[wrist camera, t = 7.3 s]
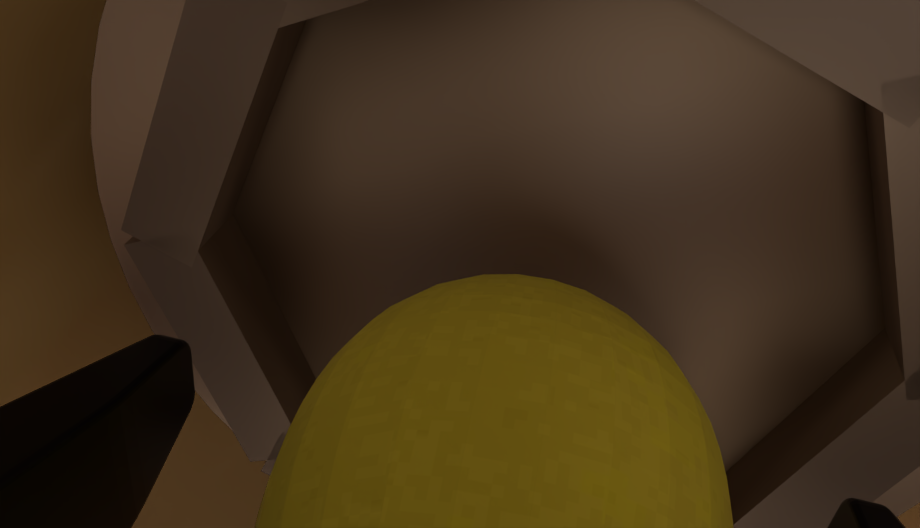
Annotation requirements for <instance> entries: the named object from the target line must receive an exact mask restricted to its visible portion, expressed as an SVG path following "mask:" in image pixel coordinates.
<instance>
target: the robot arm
mask: <svg viewBox="0 0 920 528" xmlns="http://www.w3.org/2000/svg"><path fill="white" fill-rule="evenodd" d="M194 395H195V387H194V376H193V364H192V353H191V348H190V346H189V344H188V343H187V342H186V341H184V340H182V339H178V338H173V337H169V336H165V335H159V334H156V335H152V336H149V337H147V338H145V339H143V340H141V341H138V342H136V343H134V344H132V345H130V346H128V347H126V348H124V349H122V350H119V351H117V352H115V353H113V354H111V355H109V356H107V357H105V358H102V359H100V360H98V361H96V362H94V363H92V364H90V365H88V366H86V367H83V368H81V369H79V370H77V371H75V372H73V373H71V374H69V375H66V376H64V377H62V378H60V379H58V380H56V381H54V382H52V383H50V384H47V385H45V386H43V387H41V388H39V389H37V390H35V391H33V392H30V393H28V394H26V395H24V396H22V397H20V398H18V399H16V400H13V401H11V402H9V403H7V404H5V405H3V406H1V407H0V528H131V527H132V525H133V524H134V522H135V520H136V519H137V517H138V515H139V513H140V511H141V509H142V508H143V506H144V504H145V502H146V500H147V498H148V496H149V494H150V492H151V490H152V488H153V486H154V484H155V482H156V480H157V478H158V475H159V473H160V471H161V469H162V467H163V465H164V463H165V461H166V459H167V457H168V455H169V453H170V451H171V449H172V447H173V445H174V443H175V441H176V439H177V437H178V435H179V433H180V431H181V429H182V427H183V425H184V423H185V420H186V418H187V416H188V414H189V412H190V410H191V408H192V405H193V401H194ZM828 528H905V527H904V525H903V524H902V523H901V522H900V521H899V519H898V518H897V517H896V516H895V515H894V513H893V512H892V511H891V510H890V509H888V508H887V507H886V506H884V505H881V504H878V503H873V502H869V501H865V500H861V499H856V498H848V499H846V500H844V501H843V502H842V503H841V505H840V506H839V508H838V510H837V511H836V513H835V515H834V517H833V519H832V520H831V522H830V524H829V526H828Z"/></svg>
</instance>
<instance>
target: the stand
mask: <svg viewBox="0 0 920 528" xmlns="http://www.w3.org/2000/svg"><path fill="white" fill-rule="evenodd" d="M91 141H92V148H93V156H94V164H95V171H96V179H97V187H98V192H99V196H100V200H101V204H102V208H103V211H104V215H105V219H106V223H107V227H108V231H109V234H110V238H111V242H112V244H113V247H114V249H115V252H116V254H117V257H118V259H119V262H120V265H121V267H122V270H123V272H124V275H125V277H126V280H127V282H128V285H129V287H130V289H131V291H132V293H133V295H134V297H135V299H136V301H137V303H138V305H139V306H140V308H141V310H142V312H143V314H144V316H145V318H146V320H147V322H148V323H149V325H150V327H151V329H152V331H153V333H154V334H155V335H156V334H159V335H165V336H169V337H173V338H178V339H182V340H184V341H186V342H187V343H188V344H189V346H190V348H191V353H192V364H193V376H194V387H195V391H196V392H197V393H198V394H199V396H200V397H201V398H202V399H203V400H204V402H205V403H206V404H207V405H208V406H209V408H210V409H211V410H212V411H213V412H214V413H215V414H216V415H217V416H218V417H219V418H220V419H221V420H222V421H223V422H224V423H225V424H226V425H227V426H228V427H229V428H230V429H231V430H232V431H233V433H234V434H235V436H236V438H237V439H238V441H239V443H240V445H241V446H242V448H243V450H244V451H245V453H246V455H247V457H248V458H249V460H250V462H252V461H263V460H266V463H265V465H264V466H263V468H262V470H261V471H262V472H264V473H266V474H268V475H271V472H272V469H273V467H274V464H275V461H276V459H277V456H278V454H279V451H280V449H281V446H282V444H283V441H284V439H285V436H286V434H287V431H288V429H289V427H290V425H291V423H292V421H293V419H294V417H295V415H296V413H297V411H298V409H299V407H300V405H301V403H302V401H303V400H304V398H305V397H306V395H307V393H308V392H309V390H310V388H311V387H312V385H313V384H314V382H315V380H316V379H317V377H318V376H319V375H320V373H321V372H322V371H323V370H324V368H325V367H326V366H327V364H328V363H329V362H330V360H331V359H332V358H333V357H334V356H335V355H336V354H337V353H338V352H339V351H340V350H341V349H342V348H343V347H344V346H345V345H346V344H347V343H348V342H349V341H350V340H351V339H352V338H353V337H354V336H355V335H356V334H357V333H358V332H359V331H360V330H362V329H363V328H364V327H365V326H366V325H367V324H368V323H369V322H370V321H371V320H373V319H374V318H375V317H377V316H378V315H379V314H381V313H382V312H383V311H385V310H386V309H388V308H389V307H390V306H392V305H394V304H396V303H398V302H400V301H402V300H405V299H407V298H409V297H411V296H413V295H415V294H417V293H419V292H422V291H424V290H426V289H428V288H430V287H432V286H435V285H437V284H440V283H445V282H449V281H454V280H459V279H464V278H468V277H473V276H478V275H483V274H520V275H527V276H533V277H539V278H546V279H552V280H555V281H558V282H561V283H564V284H568V285H571V286H574V287H577V288H580V289H583V290H586V291H587V292H589V293H591V294H593V295H595V296H597V297H598V298H600V299H602V300H604V301H606V302H607V303H609V304H611V305H613V306H615V307H616V308H618V309H619V310H621V311H623V312H624V313H626V314H628V315H629V316H630V317H631V318H632V319H633V320H634V321H636V322H637V323H638V324H639V325H640V326H641V327H642V328H644V329H645V330H646V331H647V332H648V333H649V334H650V335H652V336H653V337H654V338H655V339H656V340H657V341H658V342H659V343H660V344H661V345H662V346H663V347H664V348H665V349H666V350H667V351H668V352H669V354H670V355H671V357H672V358H673V359H674V361H675V362H676V364H677V365H678V367H679V368H680V369H681V371H682V372H683V374H684V376H685V377H686V379H687V380H688V382H689V383H690V385H691V387H692V388H693V390H694V391H695V393H696V395H697V396H698V398H699V400H700V402H701V404H702V406H703V408H704V410H705V412H706V414H707V416H708V418H709V420H710V422H711V424H712V427H713V430H714V433H715V436H716V439H717V442H718V444H719V447H720V451H721V455H722V459H723V464H724V468H725V472H726V476H727V482H728V489H729V496H730V503H731V510H732V518H733V526H734V528H828V526H829V524H830V522H831V520H832V519H833V517H834V515H835V513H836V511H837V510H838V508H839V506H840V505H841V503H842V502H843V501H844V500H846V499H848V498H856V499H861V500H865V501H869V502H873V503H878V504H881V505H884V506H886V507H887V508H888V509H890V510H891V511H892V512H893V513H894V515H895V516H896V517H897V516H899V515H901V514H902V513H904V512H905V511H907V510H908V509H910V508H912V507H913V506H915V505H916V504H918V503H919V502H920V0H107V1H106V4H105V8H104V11H103V14H102V18H101V21H100V24H99V31H98V38H97V45H96V52H95V59H94V66H93V73H92V80H91Z"/></svg>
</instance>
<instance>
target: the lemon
mask: <svg viewBox="0 0 920 528" xmlns="http://www.w3.org/2000/svg"><path fill="white" fill-rule="evenodd" d="M255 528H734V526H733V518H732V510H731V503H730V496H729V489H728V482H727V476H726V472H725V468H724V464H723V459H722V455H721V451H720V447H719V444H718V442H717V439H716V436H715V433H714V430H713V427H712V424H711V422H710V420H709V418H708V416H707V414H706V412H705V410H704V408H703V406H702V404H701V402H700V400H699V398H698V396H697V395H696V393H695V391H694V390H693V388H692V387H691V385H690V383H689V382H688V380H687V379H686V377H685V376H684V374H683V372H682V371H681V369H680V368H679V367H678V365H677V364H676V362H675V361H674V359H673V358H672V357H671V355H670V354H669V352H668V351H667V350H666V349H665V348H664V347H663V346H662V345H661V344H660V343H659V342H658V341H657V340H656V339H655V338H654V337H653V336H652V335H650V334H649V333H648V332H647V331H646V330H645V329H644V328H642V327H641V326H640V325H639V324H638V323H637V322H636V321H634V320H633V319H632V318H631V317H630V316H629V315H628V314H626V313H624V312H623V311H621V310H619V309H618V308H616V307H615V306H613V305H611V304H609V303H607V302H606V301H604V300H602V299H600V298H598V297H597V296H595V295H593V294H591V293H589V292H587V291H586V290H583V289H580V288H577V287H574V286H571V285H568V284H564V283H561V282H558V281H555V280H552V279H546V278H539V277H533V276H527V275H520V274H483V275H478V276H473V277H468V278H464V279H459V280H454V281H449V282H445V283H440V284H437V285H435V286H432V287H430V288H428V289H426V290H424V291H422V292H419V293H417V294H415V295H413V296H411V297H409V298H407V299H405V300H402V301H400V302H398V303H396V304H394V305H392V306H390V307H389V308H388V309H386V310H385V311H383V312H382V313H381V314H379V315H378V316H377V317H375V318H374V319H373V320H371V321H370V322H369V323H368V324H367V325H366V326H365V327H364V328H363V329H362V330H360V331H359V332H358V333H357V334H356V335H355V336H354V337H353V338H352V339H351V340H350V341H349V342H348V343H347V344H346V345H345V346H344V347H343V348H342V349H341V350H340V351H339V352H338V353H337V354H336V355H335V356H334V357H333V358H332V359H331V360H330V362H329V363H328V364H327V366H326V367H325V368H324V370H323V371H322V372H321V373H320V375H319V376H318V377H317V379H316V380H315V382H314V384H313V385H312V387H311V388H310V390H309V392H308V393H307V395H306V397H305V398H304V400H303V401H302V403H301V405H300V407H299V409H298V411H297V413H296V415H295V417H294V419H293V421H292V423H291V425H290V427H289V429H288V431H287V434H286V436H285V439H284V441H283V444H282V446H281V449H280V451H279V454H278V456H277V459H276V461H275V464H274V467H273V469H272V472H271V475H270V477H269V480H268V483H267V486H266V489H265V493H264V496H263V499H262V502H261V505H260V508H259V512H258V516H257V520H256V524H255Z"/></svg>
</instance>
